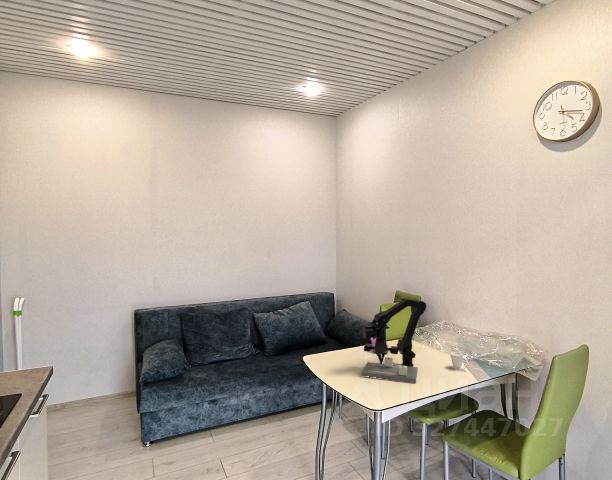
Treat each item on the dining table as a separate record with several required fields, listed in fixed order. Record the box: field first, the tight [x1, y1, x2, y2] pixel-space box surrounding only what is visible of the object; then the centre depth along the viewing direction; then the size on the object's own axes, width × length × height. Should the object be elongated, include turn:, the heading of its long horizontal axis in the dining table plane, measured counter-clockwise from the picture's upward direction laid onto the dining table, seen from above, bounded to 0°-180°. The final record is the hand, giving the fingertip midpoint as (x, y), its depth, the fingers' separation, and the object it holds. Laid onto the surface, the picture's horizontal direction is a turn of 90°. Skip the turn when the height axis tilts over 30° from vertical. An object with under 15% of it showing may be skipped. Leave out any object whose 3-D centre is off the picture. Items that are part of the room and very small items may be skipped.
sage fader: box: [399, 364, 407, 376], centre depth 194 cm, size 3×4×4 cm
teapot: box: [369, 337, 389, 348], centre depth 239 cm, size 10×15×9 cm
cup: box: [450, 351, 469, 371], centre depth 207 cm, size 7×10×8 cm
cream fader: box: [384, 356, 394, 367], centre depth 206 cm, size 3×4×4 cm
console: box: [361, 361, 419, 384], centre depth 201 cm, size 16×28×3 cm, turn 70°
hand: (381, 363), depth 208 cm, fingers closed
